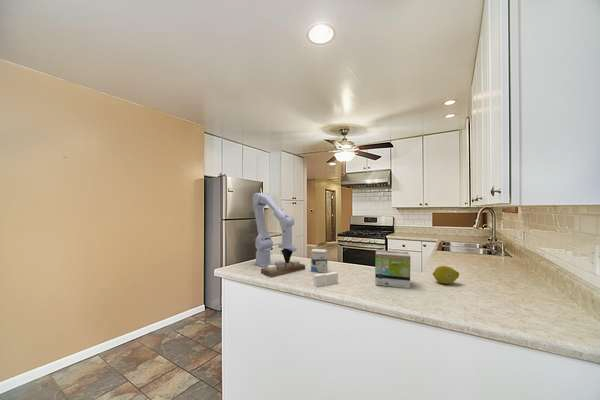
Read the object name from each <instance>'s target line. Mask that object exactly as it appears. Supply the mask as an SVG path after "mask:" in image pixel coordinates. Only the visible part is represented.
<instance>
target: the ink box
mask: <svg viewBox="0 0 600 400" xmlns="http://www.w3.org/2000/svg"><path fill="white" fill-rule="evenodd" d="M310 272H311V273H322V274H324V273H328V249H325V248H324V249H321V248H312V249H311V251H310Z"/></svg>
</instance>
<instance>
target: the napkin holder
mask: <svg viewBox="0 0 600 400" xmlns="http://www.w3.org/2000/svg"><path fill="white" fill-rule="evenodd" d="M338 283H339V273H338V272H336V271H332V272H326V273H322V272H320V273H316V274H313V286H314V287H316V288H317V287H321V286H326V287H328V286H331V285H332V286H333V285H335V284H338Z"/></svg>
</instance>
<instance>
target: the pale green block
mask: <svg viewBox="0 0 600 400" xmlns="http://www.w3.org/2000/svg"><path fill="white" fill-rule="evenodd" d="M290 262H291V263H292V265H293V266H296V265H300V264H301V263H300V260H296V259H293V260H290Z"/></svg>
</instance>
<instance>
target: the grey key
mask: <svg viewBox="0 0 600 400" xmlns="http://www.w3.org/2000/svg"><path fill="white" fill-rule="evenodd" d="M274 265H275V266H277V268H278V269H281V268H285V261H282V260H277V261H274Z"/></svg>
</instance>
